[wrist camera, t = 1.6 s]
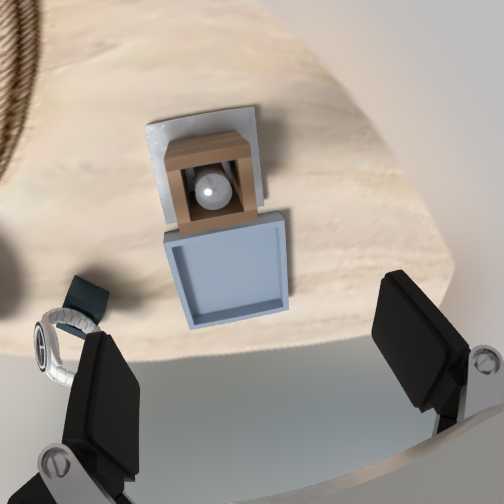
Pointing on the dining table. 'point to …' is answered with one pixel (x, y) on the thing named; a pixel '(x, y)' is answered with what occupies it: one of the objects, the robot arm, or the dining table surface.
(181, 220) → the collar
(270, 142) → the dining table surface
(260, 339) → the dining table surface
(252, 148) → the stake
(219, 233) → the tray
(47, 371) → the watch
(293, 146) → the dining table surface
